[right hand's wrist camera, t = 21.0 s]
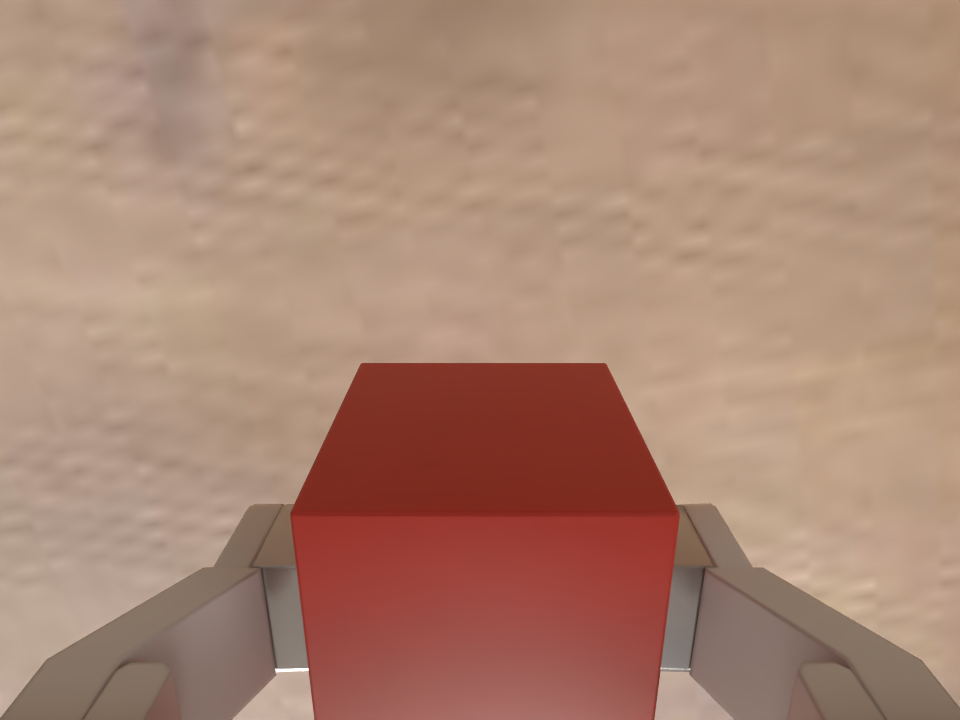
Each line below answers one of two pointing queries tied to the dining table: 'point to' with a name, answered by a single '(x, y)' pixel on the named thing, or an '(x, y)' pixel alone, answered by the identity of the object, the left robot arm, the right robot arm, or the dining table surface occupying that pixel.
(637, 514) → the block
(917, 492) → the dining table surface
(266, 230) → the dining table surface
